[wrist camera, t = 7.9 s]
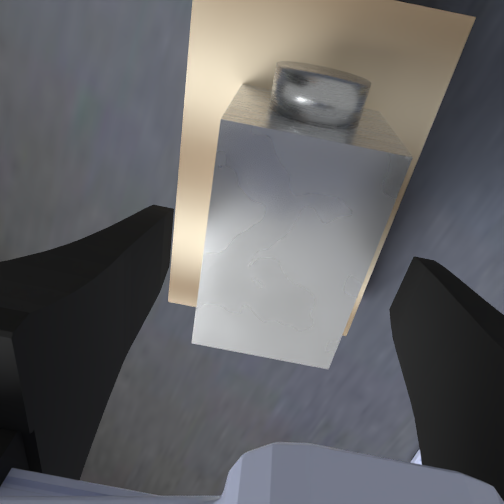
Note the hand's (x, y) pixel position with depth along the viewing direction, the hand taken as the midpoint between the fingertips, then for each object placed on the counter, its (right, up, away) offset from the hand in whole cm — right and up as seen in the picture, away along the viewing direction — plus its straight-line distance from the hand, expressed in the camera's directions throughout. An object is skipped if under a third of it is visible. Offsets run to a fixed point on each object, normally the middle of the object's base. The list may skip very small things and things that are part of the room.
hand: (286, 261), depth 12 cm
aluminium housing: (0, +2, +5) cm, 5 cm away
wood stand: (+1, +4, +7) cm, 8 cm away
